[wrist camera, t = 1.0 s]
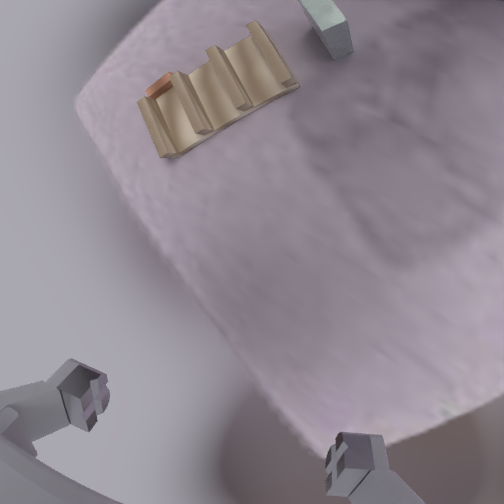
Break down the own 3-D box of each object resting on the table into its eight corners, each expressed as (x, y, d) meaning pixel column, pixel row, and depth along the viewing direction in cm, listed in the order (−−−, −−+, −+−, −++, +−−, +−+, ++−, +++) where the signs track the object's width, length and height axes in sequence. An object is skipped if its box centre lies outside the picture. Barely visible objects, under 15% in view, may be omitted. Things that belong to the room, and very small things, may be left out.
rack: (262, 25, 37) (251, 13, 33) (299, 86, 38) (291, 77, 34) (152, 99, 46) (134, 95, 42) (177, 157, 47) (160, 157, 43)
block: (331, 18, 34) (318, -17, 25) (353, 51, 34) (347, 20, 25) (312, 27, 35) (294, -7, 26) (334, 60, 36) (322, 30, 26)
